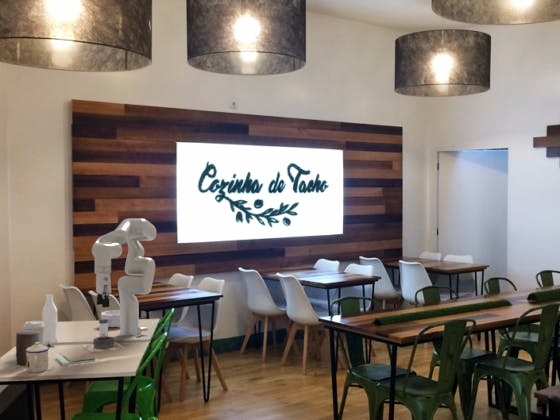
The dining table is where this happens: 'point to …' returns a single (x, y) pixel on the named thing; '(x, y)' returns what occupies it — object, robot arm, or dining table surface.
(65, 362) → the sage pad
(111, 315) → the paper bowls
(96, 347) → the block
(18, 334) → the pillar candle
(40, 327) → the coffee cup
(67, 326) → the dining table surface
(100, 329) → the steel peg
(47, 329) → the water bottle
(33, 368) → the teacup with lid
